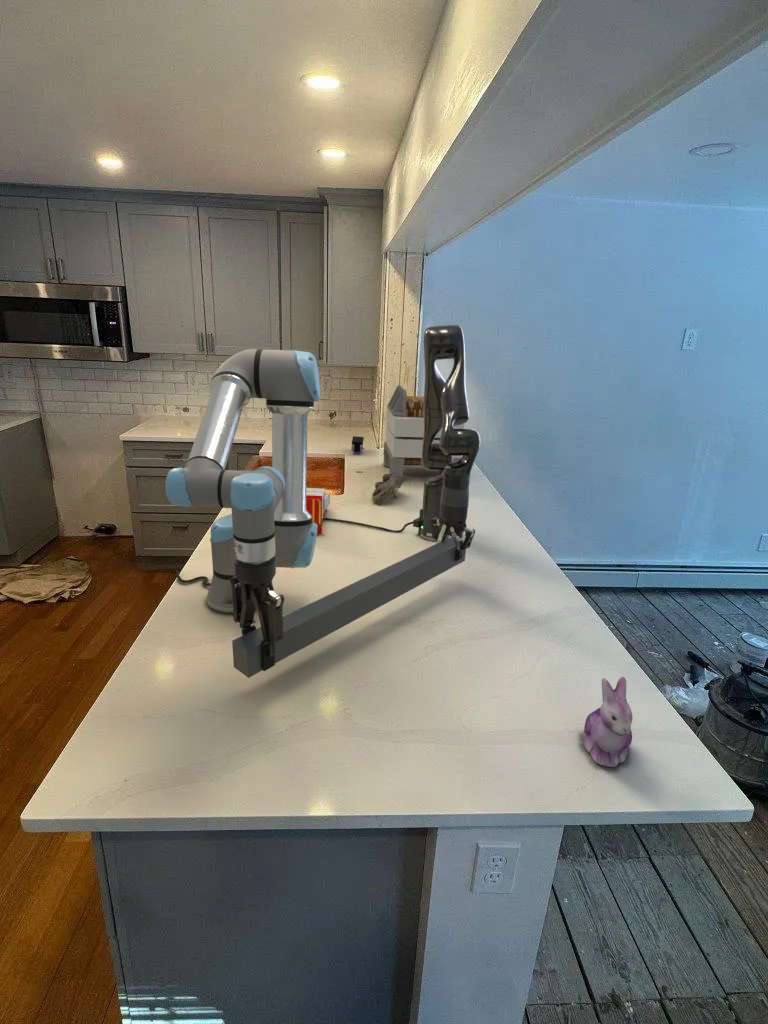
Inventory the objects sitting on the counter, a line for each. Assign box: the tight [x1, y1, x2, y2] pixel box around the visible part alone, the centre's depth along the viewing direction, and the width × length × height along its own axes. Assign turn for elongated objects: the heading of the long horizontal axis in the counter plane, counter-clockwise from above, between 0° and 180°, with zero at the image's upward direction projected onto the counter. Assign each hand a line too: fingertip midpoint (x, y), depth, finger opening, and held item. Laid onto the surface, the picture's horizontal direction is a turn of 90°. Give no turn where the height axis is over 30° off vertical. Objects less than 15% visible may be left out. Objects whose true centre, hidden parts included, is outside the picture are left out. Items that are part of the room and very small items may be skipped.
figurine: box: [582, 676, 633, 768], centre depth 102 cm, size 9×10×15 cm
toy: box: [306, 487, 331, 535], centre depth 207 cm, size 12×13×30 cm
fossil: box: [371, 472, 404, 505], centre depth 236 cm, size 22×10×15 cm
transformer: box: [383, 384, 465, 476], centre depth 268 cm, size 34×33×41 cm
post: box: [231, 536, 467, 679], centre depth 137 cm, size 75×5×6 cm, turn 139°
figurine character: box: [350, 435, 364, 455], centre depth 308 cm, size 7×8×15 cm
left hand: (259, 661), depth 114 cm, fingers closed on post, 5 cm apart
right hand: (449, 557), depth 160 cm, fingers closed on post, 5 cm apart
